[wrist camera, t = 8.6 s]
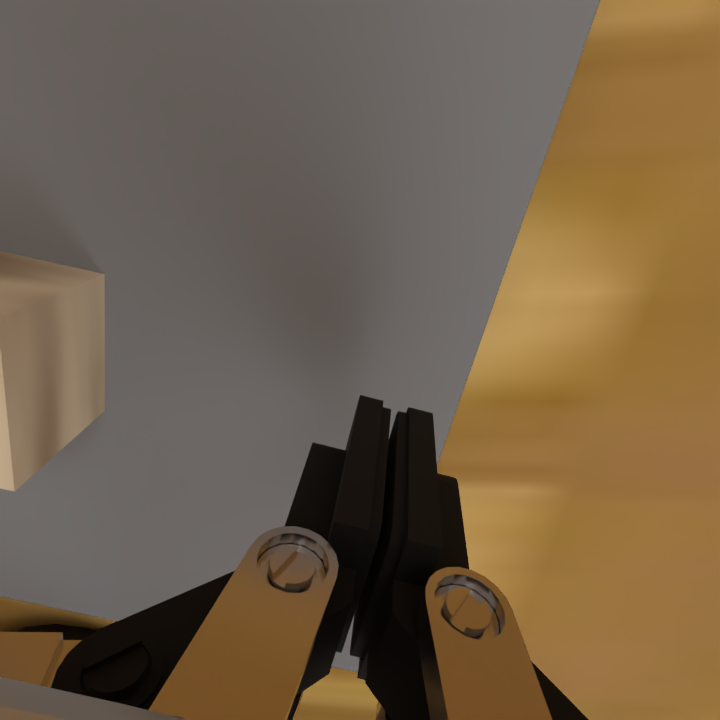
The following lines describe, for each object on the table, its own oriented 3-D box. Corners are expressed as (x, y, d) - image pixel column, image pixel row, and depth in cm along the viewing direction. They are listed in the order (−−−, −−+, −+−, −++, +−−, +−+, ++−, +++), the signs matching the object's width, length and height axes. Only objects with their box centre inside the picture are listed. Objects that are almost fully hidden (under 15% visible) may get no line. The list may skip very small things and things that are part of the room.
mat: (601, -42, 11) (672, -108, 8) (364, 649, 20) (360, 727, 18) (-585, -355, 10) (-951, -546, 7) (-258, 517, 20) (-364, 576, 17)
